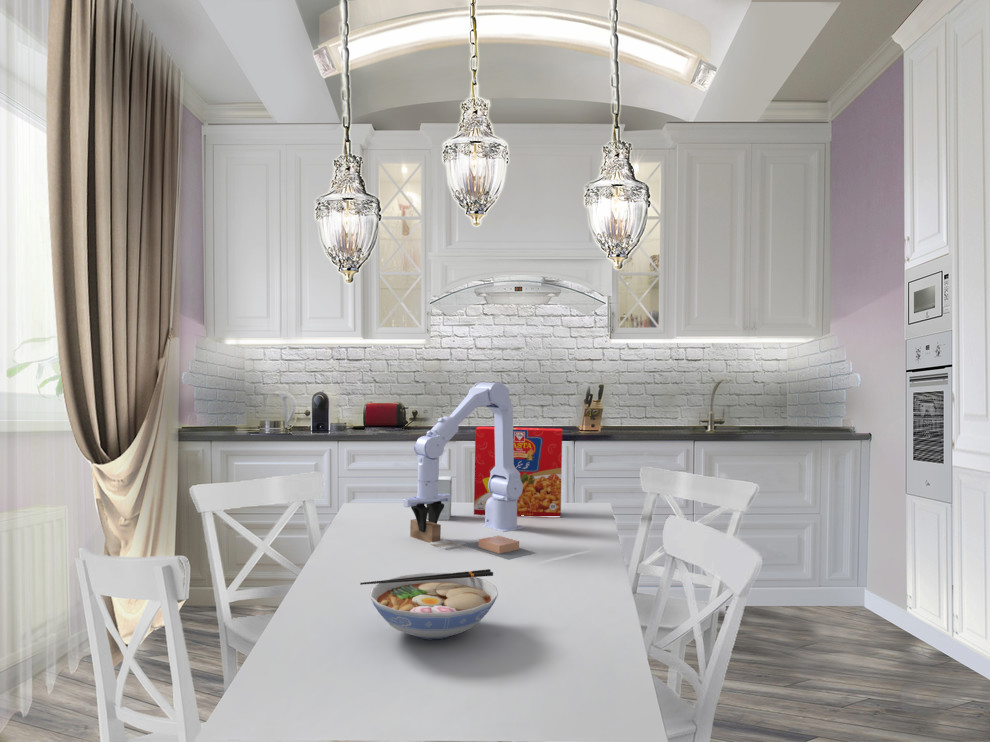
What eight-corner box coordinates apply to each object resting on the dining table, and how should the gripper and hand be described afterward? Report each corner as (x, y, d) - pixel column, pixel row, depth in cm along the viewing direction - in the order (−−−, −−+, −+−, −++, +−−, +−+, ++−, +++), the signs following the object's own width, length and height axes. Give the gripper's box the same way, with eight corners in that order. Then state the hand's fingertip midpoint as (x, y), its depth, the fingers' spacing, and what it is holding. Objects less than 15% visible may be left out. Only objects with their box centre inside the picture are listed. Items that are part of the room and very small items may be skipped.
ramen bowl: (369, 666, 108) (370, 614, 108) (356, 615, 130) (357, 572, 130) (520, 651, 115) (521, 602, 115) (484, 605, 137) (485, 564, 137)
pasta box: (473, 514, 222) (475, 428, 222) (476, 509, 230) (478, 426, 230) (560, 518, 220) (562, 430, 220) (560, 512, 228) (562, 428, 228)
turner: (406, 538, 189) (407, 520, 189) (421, 535, 193) (421, 517, 193) (444, 551, 177) (445, 531, 177) (460, 548, 180) (460, 529, 180)
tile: (478, 539, 179) (499, 545, 173) (498, 535, 184) (519, 541, 178) (478, 547, 179) (499, 554, 173) (498, 543, 184) (519, 549, 178)
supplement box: (449, 520, 213) (450, 479, 213) (425, 519, 213) (426, 479, 213) (451, 515, 221) (452, 476, 221) (428, 514, 221) (429, 475, 221)
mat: (461, 546, 182) (461, 544, 182) (489, 540, 189) (489, 539, 189) (508, 561, 169) (508, 559, 169) (536, 554, 175) (536, 552, 175)
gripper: (414, 485, 179) (413, 537, 179) (458, 479, 188) (457, 529, 188) (399, 481, 184) (398, 532, 184) (442, 476, 194) (441, 524, 194)
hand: (427, 530), depth 187 cm, fingers closed on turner, 3 cm apart
